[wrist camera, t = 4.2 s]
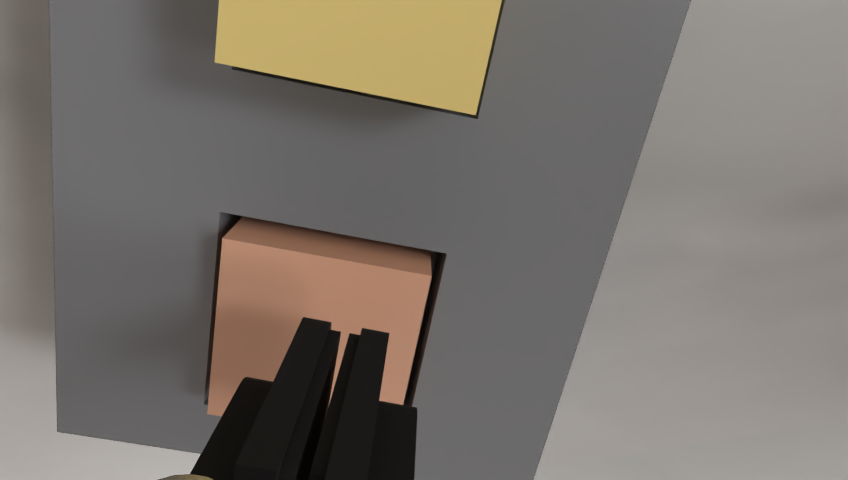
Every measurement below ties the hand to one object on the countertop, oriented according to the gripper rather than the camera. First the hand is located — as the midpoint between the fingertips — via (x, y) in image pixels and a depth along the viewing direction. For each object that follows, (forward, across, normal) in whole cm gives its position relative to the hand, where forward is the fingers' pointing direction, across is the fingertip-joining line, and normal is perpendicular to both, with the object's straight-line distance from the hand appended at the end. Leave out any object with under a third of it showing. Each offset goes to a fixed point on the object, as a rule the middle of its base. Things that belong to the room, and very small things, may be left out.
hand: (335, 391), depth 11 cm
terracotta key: (+4, +1, 0) cm, 4 cm away
